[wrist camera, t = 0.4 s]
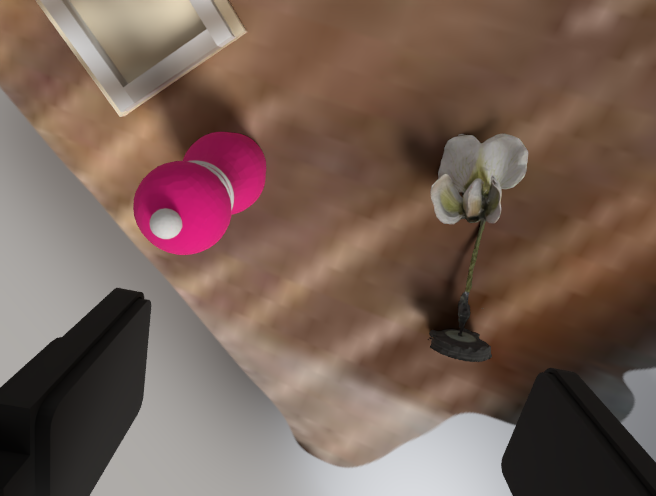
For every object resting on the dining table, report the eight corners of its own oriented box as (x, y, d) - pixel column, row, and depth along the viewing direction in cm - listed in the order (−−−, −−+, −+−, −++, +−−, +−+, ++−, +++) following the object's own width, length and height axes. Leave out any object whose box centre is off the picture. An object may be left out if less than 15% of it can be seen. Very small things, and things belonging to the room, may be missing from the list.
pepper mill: (182, 160, 44) (68, 221, 25) (234, 110, 42) (155, 134, 23) (234, 215, 45) (164, 309, 27) (286, 169, 44) (252, 235, 25)
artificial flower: (408, 329, 52) (397, 368, 42) (444, 129, 46) (442, 122, 37) (488, 347, 50) (496, 392, 40) (536, 140, 44) (558, 136, 35)
